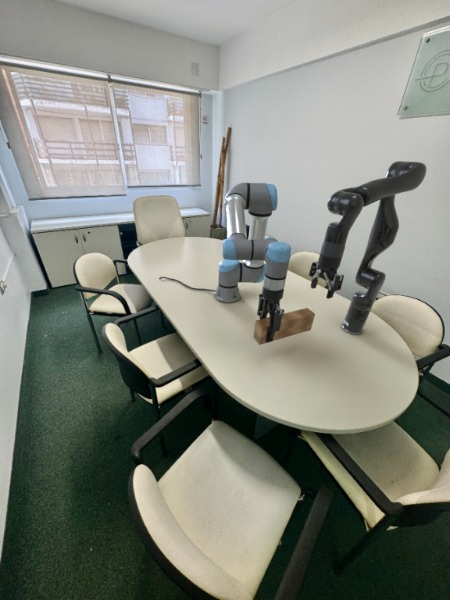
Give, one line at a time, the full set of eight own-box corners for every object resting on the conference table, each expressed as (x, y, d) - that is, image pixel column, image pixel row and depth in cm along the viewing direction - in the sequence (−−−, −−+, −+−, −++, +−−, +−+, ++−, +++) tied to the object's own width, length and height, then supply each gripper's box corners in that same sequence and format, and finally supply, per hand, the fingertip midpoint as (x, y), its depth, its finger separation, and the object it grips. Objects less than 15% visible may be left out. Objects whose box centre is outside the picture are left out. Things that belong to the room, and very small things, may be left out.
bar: (259, 344, 95) (262, 327, 90) (253, 337, 99) (255, 320, 94) (310, 330, 104) (315, 313, 99) (303, 323, 108) (307, 307, 103)
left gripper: (298, 297, 80) (286, 349, 92) (268, 274, 94) (261, 322, 106) (279, 301, 77) (269, 354, 90) (252, 277, 91) (246, 326, 104)
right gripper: (355, 259, 82) (341, 300, 90) (325, 245, 93) (315, 283, 101) (338, 261, 79) (326, 303, 87) (309, 247, 90) (301, 286, 98)
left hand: (265, 337), depth 98 cm, fingers closed on bar, 5 cm apart
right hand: (320, 292), depth 94 cm, fingers open, 8 cm apart
